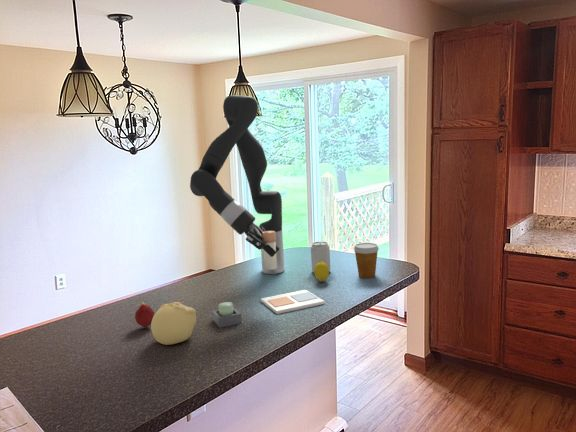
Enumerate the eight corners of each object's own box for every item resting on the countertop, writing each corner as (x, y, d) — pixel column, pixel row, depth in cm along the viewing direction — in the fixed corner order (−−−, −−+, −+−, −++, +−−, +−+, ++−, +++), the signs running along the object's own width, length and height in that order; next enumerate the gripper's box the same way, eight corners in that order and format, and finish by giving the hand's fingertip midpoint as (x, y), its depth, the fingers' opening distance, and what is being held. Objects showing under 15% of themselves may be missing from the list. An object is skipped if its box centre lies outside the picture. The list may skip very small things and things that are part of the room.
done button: (217, 316, 151) (216, 303, 150) (231, 313, 152) (230, 301, 152) (221, 320, 147) (220, 308, 146) (235, 317, 148) (234, 305, 148)
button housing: (213, 320, 152) (212, 311, 151) (234, 315, 154) (233, 306, 154) (219, 327, 145) (218, 318, 145) (241, 323, 148) (240, 313, 147)
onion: (159, 324, 151) (157, 299, 149) (148, 332, 145) (145, 306, 144) (143, 323, 153) (141, 298, 151) (132, 330, 147) (129, 305, 146)
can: (309, 273, 195) (307, 244, 193) (315, 268, 202) (314, 240, 200) (327, 274, 192) (325, 245, 190) (332, 269, 199) (331, 240, 197)
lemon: (329, 279, 186) (328, 259, 185) (329, 283, 181) (328, 263, 179) (315, 279, 187) (314, 259, 185) (314, 284, 181) (313, 263, 180)
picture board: (260, 301, 166) (260, 297, 166) (305, 292, 173) (305, 288, 173) (276, 314, 154) (276, 310, 153) (324, 303, 160) (324, 300, 160)
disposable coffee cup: (363, 270, 195) (363, 241, 193) (384, 274, 188) (383, 244, 186) (349, 276, 188) (348, 246, 186) (370, 280, 181) (369, 249, 179)
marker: (262, 267, 161) (260, 231, 159) (274, 265, 163) (272, 230, 161) (267, 270, 157) (264, 234, 155) (279, 268, 159) (276, 232, 157)
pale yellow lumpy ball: (204, 334, 141) (200, 299, 139) (176, 351, 131) (172, 313, 129) (173, 329, 147) (170, 294, 145) (144, 345, 136) (140, 308, 134)
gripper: (238, 212, 151) (278, 250, 151) (251, 205, 165) (288, 239, 165) (223, 229, 154) (263, 267, 153) (237, 221, 167) (273, 255, 167)
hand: (275, 252), depth 159 cm, fingers closed on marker, 4 cm apart
